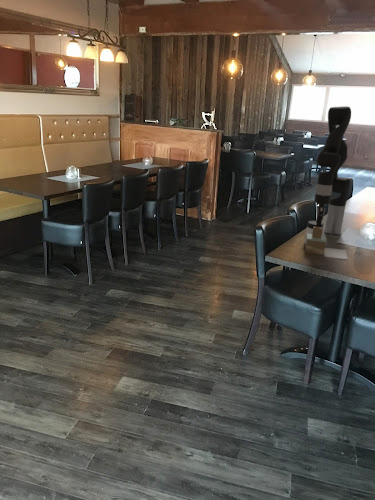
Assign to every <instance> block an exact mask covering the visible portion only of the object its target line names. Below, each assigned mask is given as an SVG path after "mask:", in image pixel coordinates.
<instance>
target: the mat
mask: <svg viewBox="0 0 375 500" xmlns="http://www.w3.org/2000/svg"><path fill="white" fill-rule="evenodd" d="M324 258H329V259H337V260H343V261H344V260H345V261H348V254H347V251H346V249H341V248H340V249H339V248H334V247H333V248H332V247H325V250H324Z"/></svg>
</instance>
